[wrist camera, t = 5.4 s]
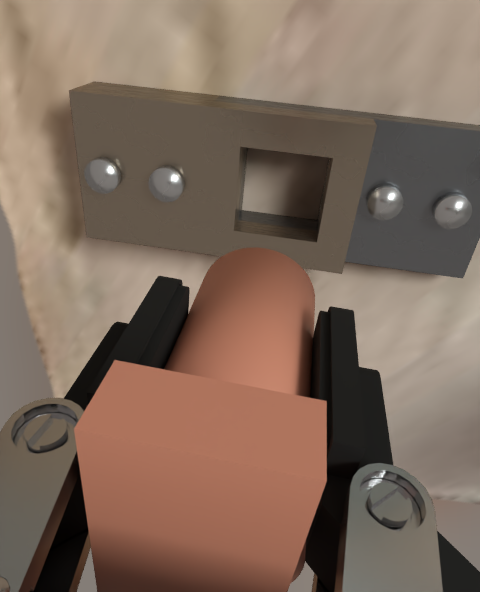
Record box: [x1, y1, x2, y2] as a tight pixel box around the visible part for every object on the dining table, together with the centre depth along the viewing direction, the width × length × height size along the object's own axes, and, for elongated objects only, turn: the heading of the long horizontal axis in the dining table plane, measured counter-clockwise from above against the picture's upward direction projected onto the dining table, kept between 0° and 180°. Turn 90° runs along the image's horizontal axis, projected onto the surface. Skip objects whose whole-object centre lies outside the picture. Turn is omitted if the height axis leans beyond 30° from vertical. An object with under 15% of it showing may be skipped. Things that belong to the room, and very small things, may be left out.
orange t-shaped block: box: [74, 247, 327, 592], centre depth 9 cm, size 3×7×8 cm, turn 174°
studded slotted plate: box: [69, 82, 480, 278], centre depth 25 cm, size 22×8×4 cm, turn 85°
